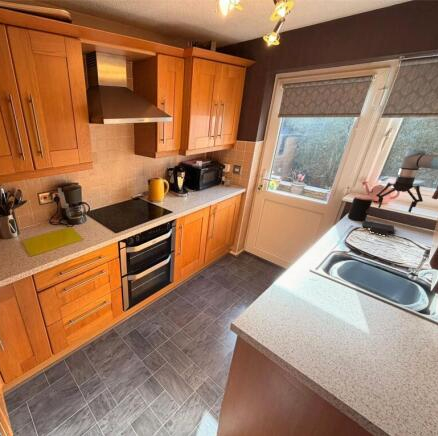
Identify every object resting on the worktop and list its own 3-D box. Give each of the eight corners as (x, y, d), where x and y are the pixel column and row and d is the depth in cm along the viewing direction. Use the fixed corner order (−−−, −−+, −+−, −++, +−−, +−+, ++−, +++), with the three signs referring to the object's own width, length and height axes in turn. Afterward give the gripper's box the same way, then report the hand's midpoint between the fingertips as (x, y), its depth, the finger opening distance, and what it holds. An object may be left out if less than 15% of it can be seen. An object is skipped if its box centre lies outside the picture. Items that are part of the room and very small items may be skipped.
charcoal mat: (393, 234, 153) (394, 231, 153) (362, 228, 163) (362, 225, 163) (392, 228, 163) (393, 225, 162) (362, 222, 173) (363, 220, 172)
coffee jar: (366, 222, 173) (374, 199, 166) (348, 220, 178) (355, 197, 172) (363, 218, 181) (371, 196, 175) (346, 215, 187) (353, 194, 180)
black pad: (385, 236, 150) (388, 229, 149) (369, 233, 155) (371, 226, 154) (385, 231, 158) (387, 224, 156) (369, 228, 163) (371, 221, 161)
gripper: (436, 177, 134) (422, 212, 141) (377, 173, 150) (367, 204, 157) (439, 179, 129) (424, 215, 136) (378, 175, 145) (367, 207, 152)
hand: (393, 209), depth 147 cm, fingers open, 13 cm apart
